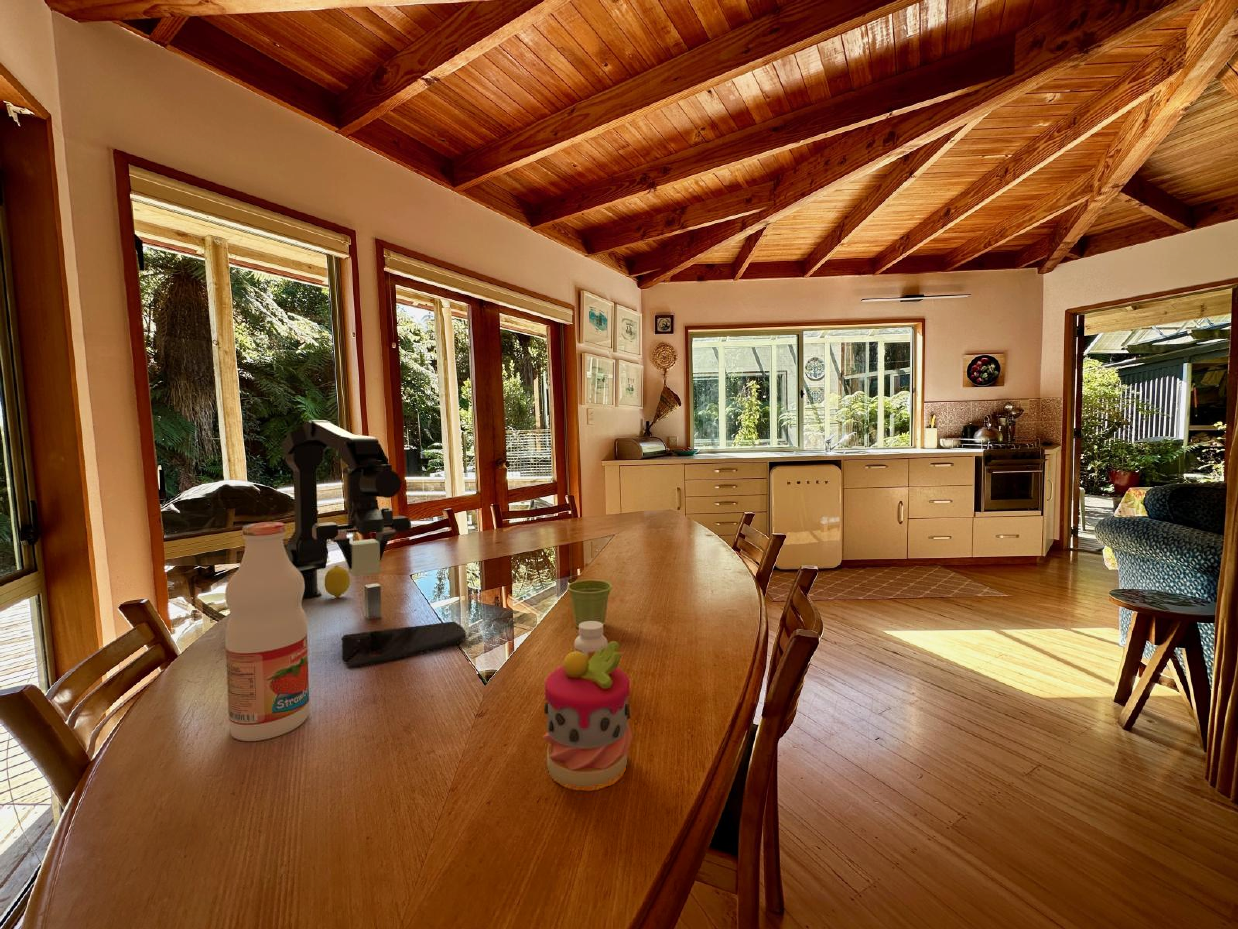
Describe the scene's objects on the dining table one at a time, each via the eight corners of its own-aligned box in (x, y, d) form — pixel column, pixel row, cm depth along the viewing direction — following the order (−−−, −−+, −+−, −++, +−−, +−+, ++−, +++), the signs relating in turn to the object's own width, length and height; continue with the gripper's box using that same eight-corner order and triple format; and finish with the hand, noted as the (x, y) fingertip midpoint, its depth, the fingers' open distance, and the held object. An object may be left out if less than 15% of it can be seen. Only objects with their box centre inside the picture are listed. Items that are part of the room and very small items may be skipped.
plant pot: (559, 630, 110) (559, 589, 110) (579, 616, 119) (579, 577, 118) (600, 637, 107) (601, 594, 106) (618, 622, 115) (618, 582, 115)
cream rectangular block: (348, 571, 117) (347, 541, 116) (374, 568, 120) (373, 538, 120) (354, 576, 113) (353, 545, 112) (380, 572, 116) (379, 542, 116)
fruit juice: (247, 710, 78) (240, 520, 76) (318, 703, 80) (313, 518, 79) (215, 747, 69) (206, 532, 67) (296, 738, 71) (289, 529, 69)
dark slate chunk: (471, 652, 100) (471, 627, 100) (339, 674, 91) (338, 646, 91) (458, 625, 114) (458, 603, 114) (342, 642, 105) (342, 618, 105)
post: (365, 616, 118) (364, 585, 117) (377, 614, 120) (377, 583, 119) (368, 619, 116) (367, 588, 115) (381, 617, 118) (380, 585, 117)
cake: (558, 803, 59) (558, 670, 58) (534, 751, 69) (534, 636, 68) (644, 779, 63) (645, 655, 62) (610, 733, 73) (610, 625, 72)
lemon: (355, 594, 134) (354, 563, 133) (341, 601, 128) (340, 568, 128) (334, 593, 134) (333, 562, 134) (319, 600, 129) (318, 567, 128)
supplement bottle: (612, 678, 89) (612, 621, 88) (600, 693, 84) (600, 632, 83) (582, 673, 91) (582, 617, 90) (568, 688, 85) (568, 628, 85)
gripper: (319, 501, 103) (322, 581, 104) (418, 495, 115) (420, 566, 116) (310, 497, 112) (313, 570, 113) (402, 491, 124) (404, 558, 125)
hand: (364, 566), depth 116 cm, fingers closed on cream rectangular block, 5 cm apart
